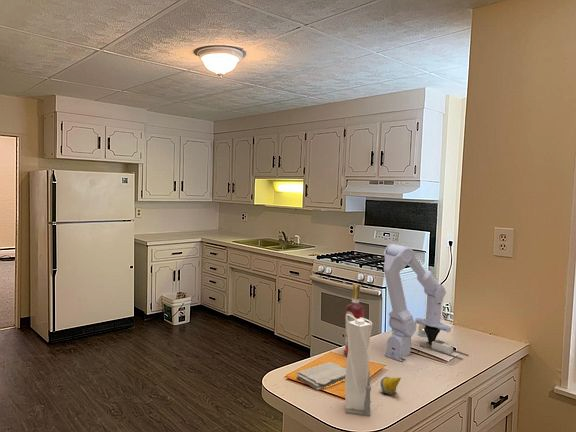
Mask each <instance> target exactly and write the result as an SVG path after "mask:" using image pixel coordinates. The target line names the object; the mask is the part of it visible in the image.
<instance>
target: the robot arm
mask: <svg viewBox="0 0 576 432" xmlns="http://www.w3.org/2000/svg"><path fill="white" fill-rule="evenodd" d="M383 256H384V264H383V273H384V278H385V283H386V286H387V291H388V297H389V300H390V305H391V309H392V310H391V311H390V312H389V314H388V315H389V318H388V319H389V320H388V324H389V327H390V328H391V331H392V333H391V335H390V337H388V338H387V341H386V342H387V343H386V353H384V356H385V357H388V358H391V359H393V360H396V361H399V362H402V363H403V362H404V361H406V360H407V359H405V358H403V357H406V356H409V355H411V348H412V337H413V335H414V334H415V332H416V330H417V324H418V325H419V324H422V325H426V326H425V327H424V330H425V332H426V335H427V337H426V338H427V342H428V343H429V344H428V343H427V344H428V345H429V346H430V347H432V341H435V340H437V339H436V338H437V337H438V335H439V333H440V332H441V331H444V332H446V333H451V331H452V330H451V329H452V327H451V326H449V325H446V324H444V323H442V322H441V319H442V318H441V317H442V303H443V302H444V297H445V296H446V294H447V291H446V289H445V286H444V285H443V284H441V283H439V281H438V279H436V278H435V276H434V275H433V272H432V271H430V270H428V269H425V268H424V266H422V264H421V262H420V261H419V260H418V258H417V256H416V252H415V251H414V250H413V248H412V247H411V246H405V245H401V244H396V243H389V244H388V245H387V246H386V248H385V250H384V251H383ZM407 266H409V268H410V269H412V271H413V272H414V273H415V274H416V279H417V281H418V283H420V285H421V286H422V287H423V291H424V294H426V308H425V309H426V310H425V318H421V317H416V318H415V320H414V318H413V315H412V314H411V313H410V312H411V311H409V310H408V308H407V302H406V298H405V294H404V289H403V284H402V278H401V274H400V272H401V271H403V270H404V269H405V267H407Z"/></svg>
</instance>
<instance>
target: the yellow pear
mask: <svg viewBox="0 0 576 432" xmlns="http://www.w3.org/2000/svg"><path fill="white" fill-rule="evenodd" d="M401 380H402V377H389V376H384V377H382V378H381V380H380V383H379V384H380V387H381V390H382V394H384V393H385V395H389V396H390V395H393V394H395V393H396V391H397V387H398V385H399V383H400V382H401Z"/></svg>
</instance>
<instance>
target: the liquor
mask: <svg viewBox="0 0 576 432" xmlns="http://www.w3.org/2000/svg"><path fill="white" fill-rule="evenodd" d="M360 289H361V285H360V284H359V283H352V298H351V303H349V304H347V305H346V306H345V315H346V314H350V315H352V316H354V317H355V318H356V319H360V317H362V318H365V310H366V309H365V307H364V306H363V305H362V304H360ZM347 317H348V322H351V321H355V319H354V318H352V317H351V316H347ZM344 345H345V348H344V350H343V352H344V354H345V355H346V356H347V355H348V350H349V349H348V332H347V318H346V317H345V343H344Z"/></svg>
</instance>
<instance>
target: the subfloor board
mask: <svg viewBox="0 0 576 432" xmlns="http://www.w3.org/2000/svg"><path fill="white" fill-rule="evenodd" d="M426 344H428V345H429V343H428V341H426ZM419 347H422V348H424V349H426V350H430V351H432V352H437V353H439V354H443V355H445V356H448V357H452V358H455V359H458V360H461V361H462V360H463V358H462V357H459V356H457V355H454V354H451V353H450V354H448V353H445V352H442V351H439V350H436V349H433V348H432V347H429V346H427V345H426V346H425V345H424V344H419ZM452 353H457V354H460V355H462V356H465V357H469V353H468V354H467V353H465V352H462V351H458V350H455V349H453V352H452Z"/></svg>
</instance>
